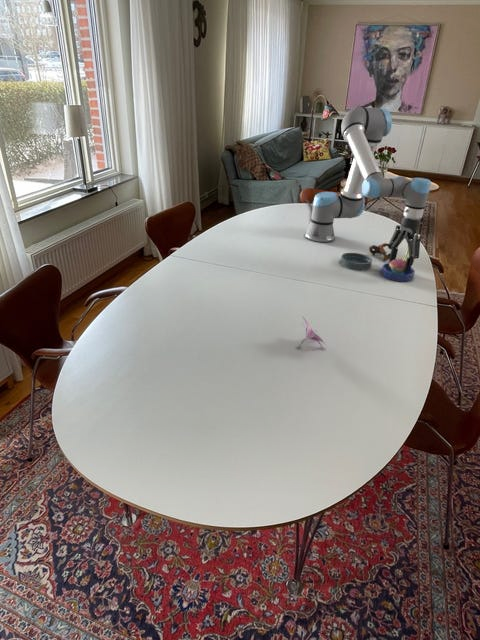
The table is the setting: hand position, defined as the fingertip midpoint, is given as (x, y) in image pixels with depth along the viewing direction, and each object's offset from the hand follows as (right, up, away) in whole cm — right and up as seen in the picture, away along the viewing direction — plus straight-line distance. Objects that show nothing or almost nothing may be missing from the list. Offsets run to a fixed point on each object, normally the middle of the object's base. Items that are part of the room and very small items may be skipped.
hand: (399, 267), depth 190 cm
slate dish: (-16, +2, +10) cm, 20 cm away
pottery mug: (-2, +7, +20) cm, 21 cm away
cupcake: (0, -3, +2) cm, 4 cm away
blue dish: (0, -3, +2) cm, 4 cm away
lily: (-48, -32, -52) cm, 78 cm away
